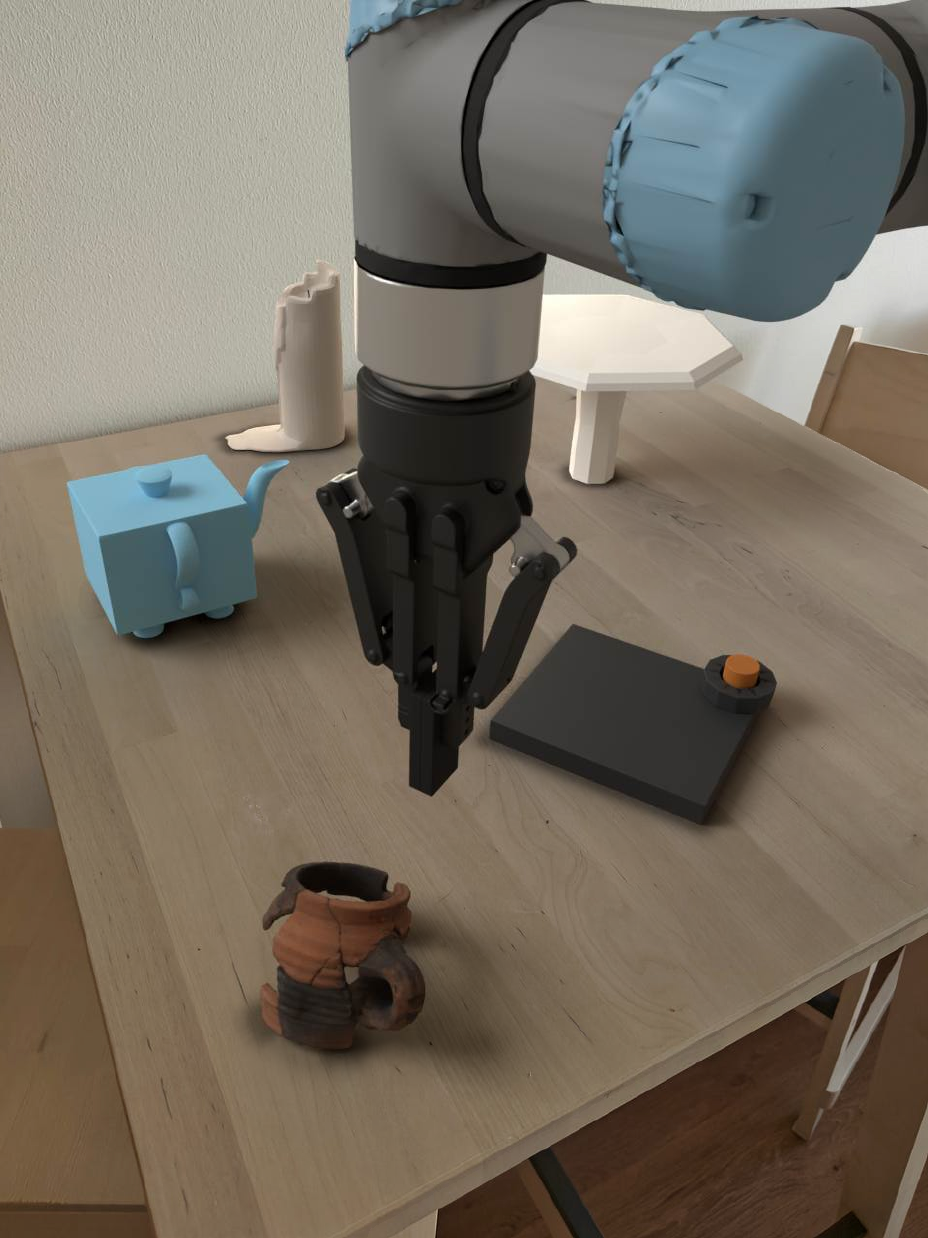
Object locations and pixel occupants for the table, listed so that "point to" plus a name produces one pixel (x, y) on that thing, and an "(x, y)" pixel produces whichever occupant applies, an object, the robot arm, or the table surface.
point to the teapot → (169, 540)
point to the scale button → (741, 671)
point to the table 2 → (621, 363)
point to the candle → (305, 368)
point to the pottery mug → (340, 956)
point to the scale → (633, 719)
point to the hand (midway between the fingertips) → (433, 776)
